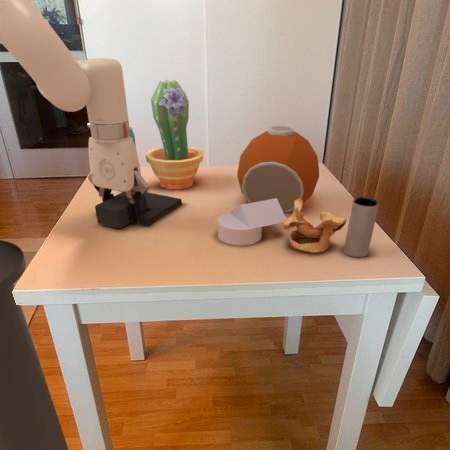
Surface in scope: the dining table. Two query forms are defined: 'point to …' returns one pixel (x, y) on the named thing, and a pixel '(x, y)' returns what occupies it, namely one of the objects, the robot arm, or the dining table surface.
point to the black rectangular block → (117, 210)
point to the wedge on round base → (249, 222)
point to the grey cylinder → (361, 226)
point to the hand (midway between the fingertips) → (122, 215)
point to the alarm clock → (278, 168)
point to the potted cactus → (173, 138)
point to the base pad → (157, 208)
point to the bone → (312, 229)
